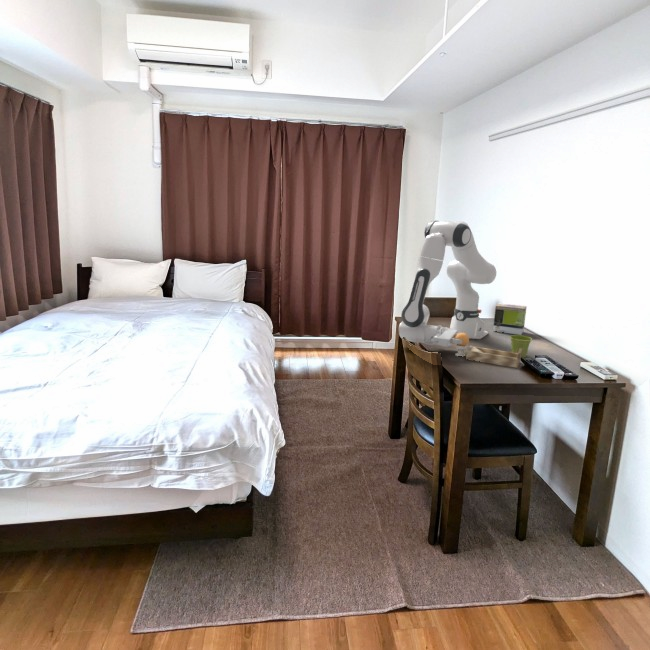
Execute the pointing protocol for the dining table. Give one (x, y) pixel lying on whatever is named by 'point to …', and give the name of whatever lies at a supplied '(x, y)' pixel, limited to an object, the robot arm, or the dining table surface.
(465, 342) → the ball
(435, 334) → the robot arm
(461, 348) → the tee
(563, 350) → the dining table surface
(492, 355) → the lane
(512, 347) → the plant pot
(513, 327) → the white retro computer
